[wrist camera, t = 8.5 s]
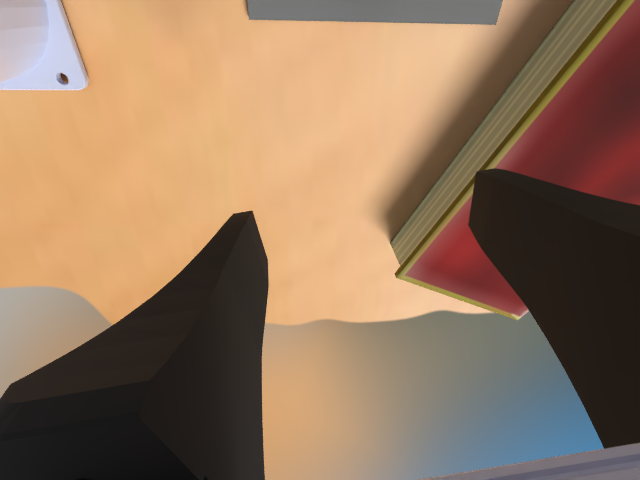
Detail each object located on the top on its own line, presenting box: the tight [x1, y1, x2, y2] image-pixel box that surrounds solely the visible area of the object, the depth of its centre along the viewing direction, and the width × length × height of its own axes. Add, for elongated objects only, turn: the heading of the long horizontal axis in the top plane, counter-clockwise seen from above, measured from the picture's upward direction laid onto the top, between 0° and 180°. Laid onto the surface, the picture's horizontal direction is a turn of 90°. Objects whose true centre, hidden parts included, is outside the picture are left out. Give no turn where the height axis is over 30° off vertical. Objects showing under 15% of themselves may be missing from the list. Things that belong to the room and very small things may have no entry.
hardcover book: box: [390, 0, 640, 320], centre depth 20 cm, size 12×21×4 cm, turn 153°
